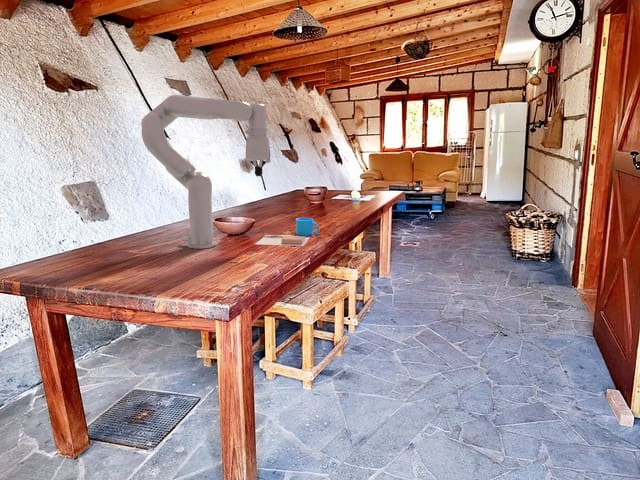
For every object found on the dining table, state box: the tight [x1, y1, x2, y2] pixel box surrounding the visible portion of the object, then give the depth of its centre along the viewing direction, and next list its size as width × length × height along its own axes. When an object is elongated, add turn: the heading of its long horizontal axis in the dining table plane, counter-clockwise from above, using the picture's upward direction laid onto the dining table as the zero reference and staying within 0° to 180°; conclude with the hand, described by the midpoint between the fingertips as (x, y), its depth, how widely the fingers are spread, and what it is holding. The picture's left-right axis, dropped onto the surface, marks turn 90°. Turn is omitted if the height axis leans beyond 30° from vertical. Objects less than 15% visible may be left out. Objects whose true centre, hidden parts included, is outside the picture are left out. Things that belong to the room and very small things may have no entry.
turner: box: [263, 234, 298, 238], centre depth 214 cm, size 16×5×1 cm, turn 82°
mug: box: [295, 217, 321, 236], centre depth 221 cm, size 12×8×8 cm
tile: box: [281, 235, 306, 244], centre depth 203 cm, size 2×7×9 cm
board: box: [255, 236, 311, 247], centre depth 207 cm, size 21×18×1 cm
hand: (258, 176), depth 207 cm, fingers closed
